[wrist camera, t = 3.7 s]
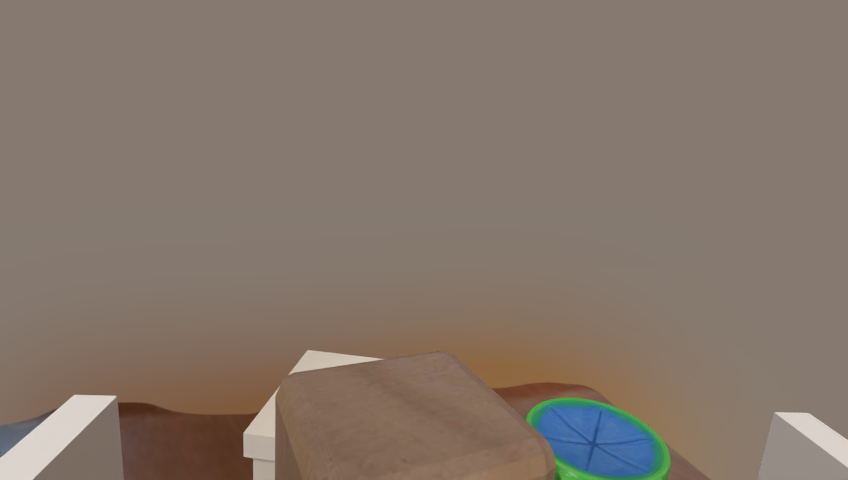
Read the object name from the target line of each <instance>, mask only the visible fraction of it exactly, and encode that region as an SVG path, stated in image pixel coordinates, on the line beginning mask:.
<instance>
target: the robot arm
mask: <svg viewBox="0 0 848 480" xmlns="http://www.w3.org/2000/svg"><path fill="white" fill-rule="evenodd" d="M0 480H124V475H123V462H122V450H121V437H120V424H119V412H118V399H117V396H101V395H74V396H73V397H71V398H70V399H69V400H68V401H67V402H66V403H64V404H63V405H62V406H61V407H60V408H58V409H57V410H56V411H55V412H54V413H53V414H51V415H50V416H49V417H48V418H47V419H45V420H44V421H43V422H42V423H41V424H40V425H38V426H37V427H36V428H35V429H34V430H33V431H31V432H30V433H29V434H28V435H27V436H26V437H24V438H23V439H22V440H21V441H20V442H19V443H17V444H16V445H15V446H14V447H13V448H11V449H10V450H9V451H8V452H7V453H6V454H4V455H3V456H2V457H1V458H0ZM757 480H848V440H847V439H845V438H844V437H842V436H841V435H839V434H838V433H837V432H835V431H833V430H832V429H831V428H829V427H828V426H826V425H825V424H823V423H822V422H821V421H819V420H817V419H816V418H815V417H813V416H812V415H811V414H809V413H781V412H774V415H773V419H772V423H771V427H770V431H769V435H768V439H767V443H766V447H765V451H764V455H763V459H762V463H761V468H760V472H759V475H758V479H757Z"/></svg>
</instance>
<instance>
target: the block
mask: <svg viewBox="0 0 848 480" xmlns="http://www.w3.org/2000/svg"><path fill="white" fill-rule="evenodd" d="M555 470H556V462H555V457H554V452H553V450H552V448H551V446H550V444H549V442H548V440H547V439H546V438H545V437H543V436H542V435H541V434H540V433H539V432H538V431H537V430H536V429H535V428H534V427H533V426H531V425H530V424H529V423H528V422H527V421H526V420H525V419H524V418H523V417H522V416H521V415H519V414H518V413H517V412H516V411H515V410H514V409H513V408H512V407H511V406H510V405H509V404H507V403H506V402H505V401H504V400H503V399H502V398H501V397H500V396H499V395H498V394H497V393H495V392H494V391H493V390H492V389H491V388H490V387H489V386H488V385H486V383H485V382H483V381H482V380H481V379H480V378H479V377H478V376H477V375H476V374H475V373H474V372H472V371H471V370H470V369H469V368H468V367H467V366H466V365H465V364H464V363H462V361H460V360H459V359H458V358H457V357H456V356H455V355H452V354H449V353H445V352H439V351H437V352H430V353H423V354H416V355H410V356H403V357H396V358H389V359H382V360H376V361H369V362H362V363H355V364H349V365H342V366H335V367H328V368H322V369H315V370H308V371H301V372H295V373H292V374H290V375H288V376H286V377H284V378H282V381H281V384H280V387H279V389H278V392H277V394H276V396H275V480H554V476H555Z"/></svg>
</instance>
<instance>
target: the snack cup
mask: <svg viewBox="0 0 848 480" xmlns="http://www.w3.org/2000/svg"><path fill="white" fill-rule="evenodd" d="M526 421H527V422H528V423H529V424H530V425H531V426H533V427H534V428H535V429H536V430H537V431H538V432H539V433H540V434H541V435H542V436H543V437H545V438H546V439H547V440H548V442H549V444H550V446H551V448H552V450H553V452H554V457H555V462H556V470H555V476H554V480H667V478H668V474H669V469H670V464H671V463H670V454H669V451H668V449H667V447H666V445H665V443H664V442H663V440H662V439H661V438H660V436H659V435H658V434H657V433H656V432H655V431H654V430H653V429H652V428H650V427H649V426H648V425H647V424H645V423H644V422H643V421H641V420H640V419H638V418H637V417H635V416H633V415H631V414H629V413H627V412H625V411H623V410H621V409H619V408H616V407H613V406H611V405H608V404H604V403H601V402H597V401H593V400H588V399H581V398H556V399H551V400H547V401H544V402H542V403H540V404H538V405H536V406H535V407H533V408H532V409H531V410H530V411H529V413H528V414H527V417H526Z"/></svg>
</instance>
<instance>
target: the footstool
mask: <svg viewBox="0 0 848 480" xmlns="http://www.w3.org/2000/svg"><path fill="white" fill-rule="evenodd" d="M376 360H382V359H378V358H369V357H362V356H353V355H345V354H337V353H328V352H320V351H312V350H307V352H306V353H305V354H304V355H303V357H302V358H301V359H300V361H299V362H298V363H297V365H296V366H295V367H294V368H293V370H292V371H291V372H290V374H292V373H295V372H301V371H308V370H315V369H322V368H328V367H335V366H342V365H349V364H355V363H362V362H369V361H376ZM290 374H289V375H290ZM279 387H280V386H279ZM278 389H279V388H278ZM278 389H277V390H276V392H275V393H274V394H273V396H272V397H271V398H270V399H269V401H268V402H267V403H266V405H265V406H264V407H263V408H262V410H261V411H260V412H259V414H258V415H257V416H256V417H255V419H254V420H253V421H252V423H251V424H250V425H249V427H248V428H247V429H246V430H245V432H244V433H243V441H244V457H249V458H253V480H275V396H276V394H277V392H278Z"/></svg>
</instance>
